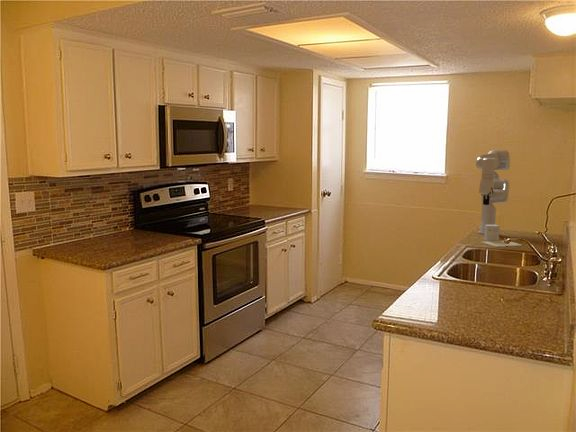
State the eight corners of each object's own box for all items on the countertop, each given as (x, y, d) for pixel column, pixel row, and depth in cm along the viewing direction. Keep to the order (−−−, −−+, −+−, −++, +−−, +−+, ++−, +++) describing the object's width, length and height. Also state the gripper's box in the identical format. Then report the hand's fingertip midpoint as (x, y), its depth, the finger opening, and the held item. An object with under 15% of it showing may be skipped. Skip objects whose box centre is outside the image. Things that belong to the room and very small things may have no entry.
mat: (481, 242, 320) (481, 241, 320) (507, 241, 324) (507, 240, 324) (495, 247, 306) (495, 246, 306) (522, 245, 310) (522, 245, 310)
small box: (496, 240, 329) (497, 224, 327) (498, 241, 323) (499, 225, 322) (483, 240, 329) (484, 224, 328) (486, 241, 324) (487, 225, 322)
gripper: (475, 176, 335) (474, 203, 337) (489, 177, 320) (487, 206, 323) (485, 176, 336) (484, 203, 339) (499, 177, 322) (498, 205, 324)
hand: (486, 204), depth 331 cm, fingers closed
